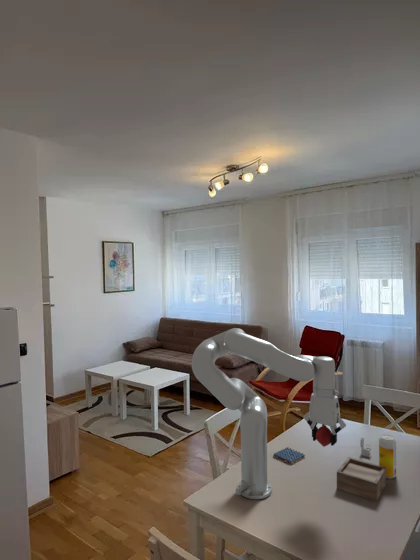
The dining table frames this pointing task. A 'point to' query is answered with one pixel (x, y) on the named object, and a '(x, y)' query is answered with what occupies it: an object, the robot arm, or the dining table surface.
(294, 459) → the woven mat
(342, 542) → the dining table surface
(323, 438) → the pomegranate
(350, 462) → the walnut tray
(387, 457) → the beer can
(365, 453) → the architectural model
